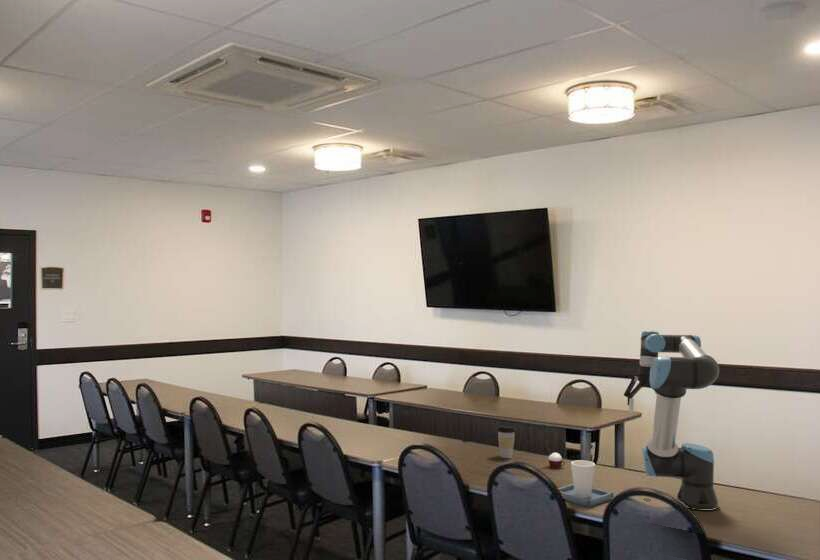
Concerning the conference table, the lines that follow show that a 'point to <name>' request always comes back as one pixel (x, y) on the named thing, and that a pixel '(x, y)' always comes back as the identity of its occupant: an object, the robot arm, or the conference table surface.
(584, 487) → the foam cup
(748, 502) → the conference table surface
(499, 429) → the coffee cup
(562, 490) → the tray
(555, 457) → the cocoa
